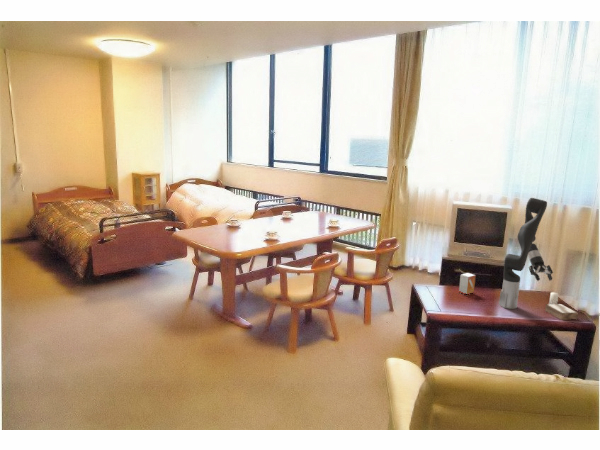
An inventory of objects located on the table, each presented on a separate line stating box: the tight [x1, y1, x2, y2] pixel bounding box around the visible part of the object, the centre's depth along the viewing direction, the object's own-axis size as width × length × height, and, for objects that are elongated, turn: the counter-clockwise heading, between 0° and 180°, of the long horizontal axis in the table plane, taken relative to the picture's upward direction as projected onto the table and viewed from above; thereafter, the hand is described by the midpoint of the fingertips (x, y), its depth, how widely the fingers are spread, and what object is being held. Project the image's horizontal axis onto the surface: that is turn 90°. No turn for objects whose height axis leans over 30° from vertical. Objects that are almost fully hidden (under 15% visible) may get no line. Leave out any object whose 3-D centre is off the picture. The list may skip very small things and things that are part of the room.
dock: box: [544, 303, 579, 321], centre depth 256 cm, size 10×14×4 cm
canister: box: [548, 291, 559, 304], centre depth 271 cm, size 4×4×8 cm
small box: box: [458, 272, 477, 294], centre depth 290 cm, size 8×6×13 cm
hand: (544, 280), depth 279 cm, fingers open, 8 cm apart
